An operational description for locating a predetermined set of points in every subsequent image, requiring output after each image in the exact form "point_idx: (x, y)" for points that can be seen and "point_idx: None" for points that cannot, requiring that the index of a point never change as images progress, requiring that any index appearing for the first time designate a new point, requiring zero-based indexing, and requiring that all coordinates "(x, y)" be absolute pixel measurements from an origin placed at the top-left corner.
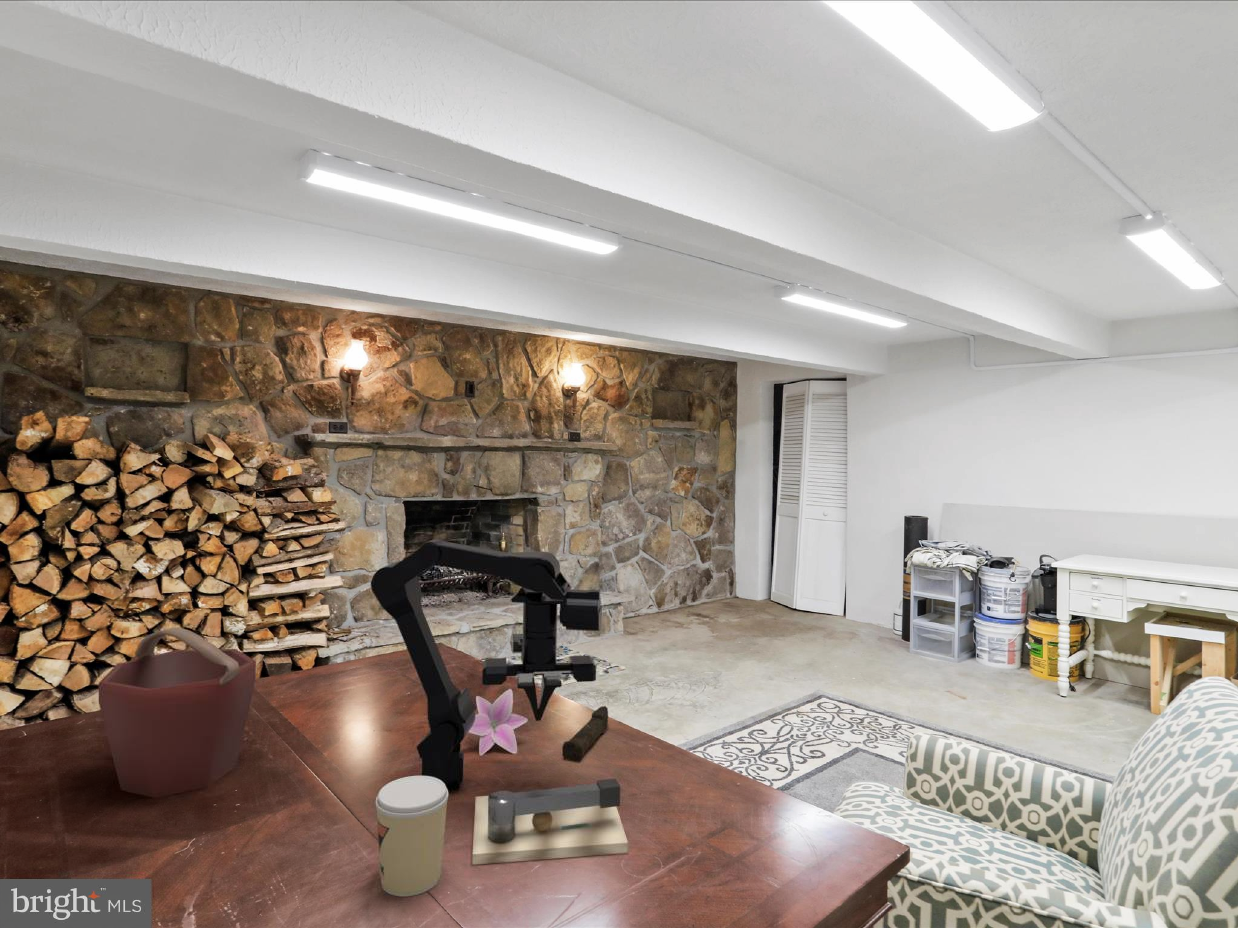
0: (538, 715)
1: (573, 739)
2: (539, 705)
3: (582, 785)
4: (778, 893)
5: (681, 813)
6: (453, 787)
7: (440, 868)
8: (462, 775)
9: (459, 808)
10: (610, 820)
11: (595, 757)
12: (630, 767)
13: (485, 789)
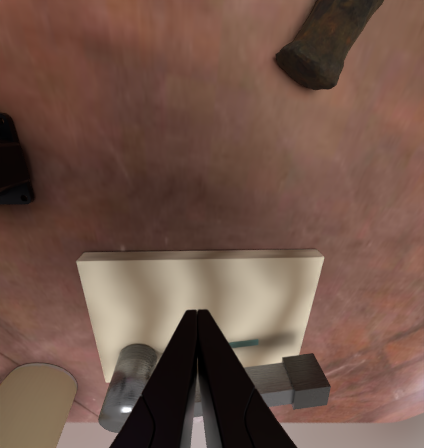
0: (197, 359)
1: (328, 30)
2: (204, 403)
3: (266, 393)
4: (390, 404)
5: (392, 297)
6: (16, 197)
7: (72, 401)
8: (18, 183)
9: (56, 257)
10: (290, 334)
11: (354, 69)
12: (404, 140)
13: (91, 196)
